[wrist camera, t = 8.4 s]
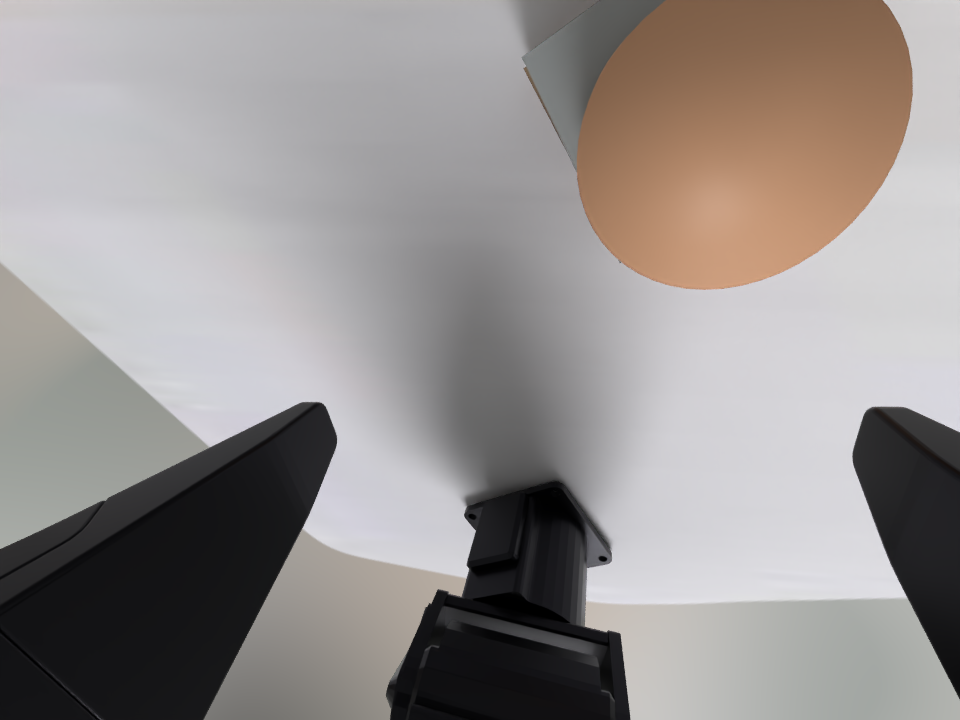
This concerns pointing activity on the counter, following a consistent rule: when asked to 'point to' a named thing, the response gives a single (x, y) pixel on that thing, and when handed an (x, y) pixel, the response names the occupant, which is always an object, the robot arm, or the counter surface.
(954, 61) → the counter surface
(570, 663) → the robot arm
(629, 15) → the top slab
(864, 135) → the tan rounded lump
